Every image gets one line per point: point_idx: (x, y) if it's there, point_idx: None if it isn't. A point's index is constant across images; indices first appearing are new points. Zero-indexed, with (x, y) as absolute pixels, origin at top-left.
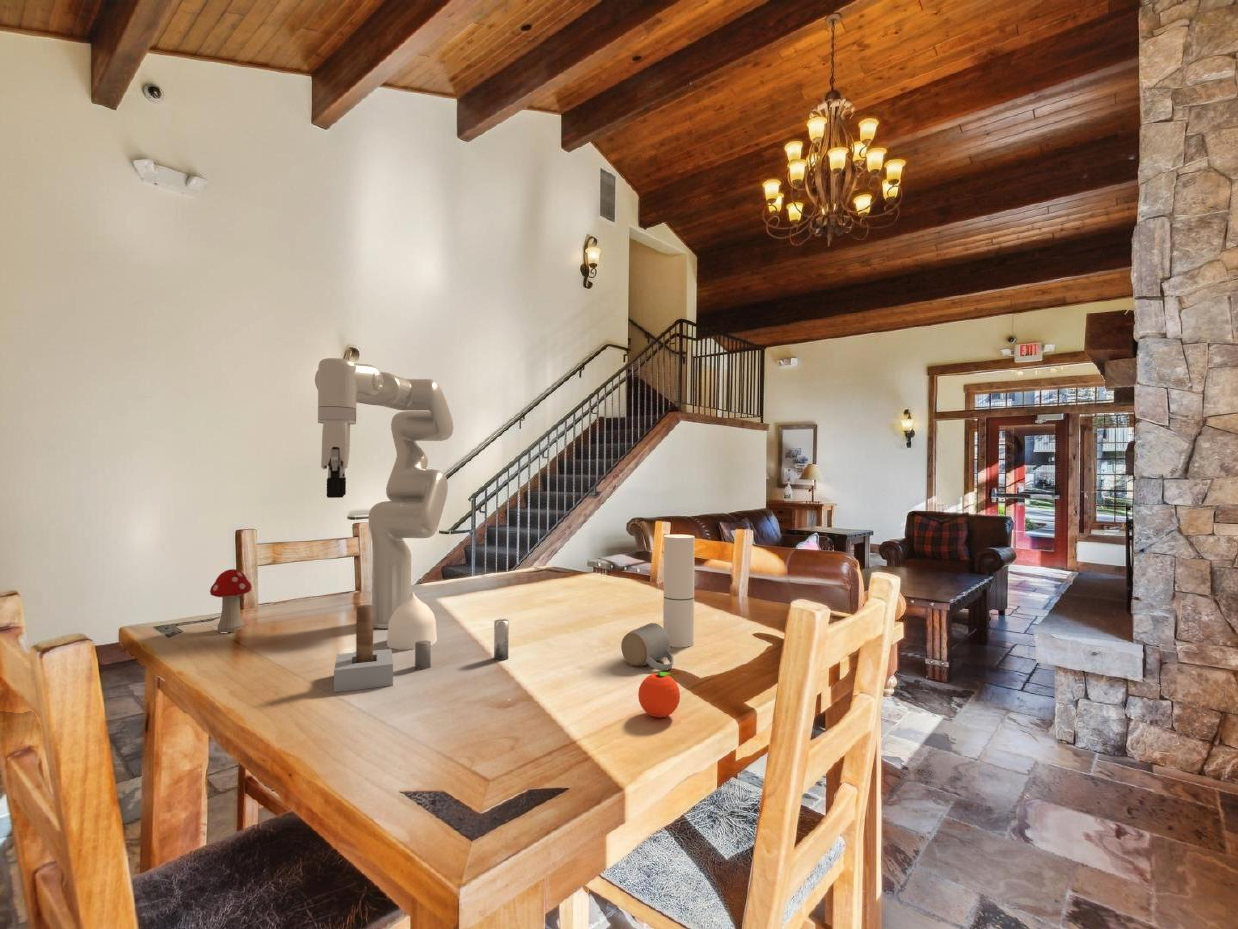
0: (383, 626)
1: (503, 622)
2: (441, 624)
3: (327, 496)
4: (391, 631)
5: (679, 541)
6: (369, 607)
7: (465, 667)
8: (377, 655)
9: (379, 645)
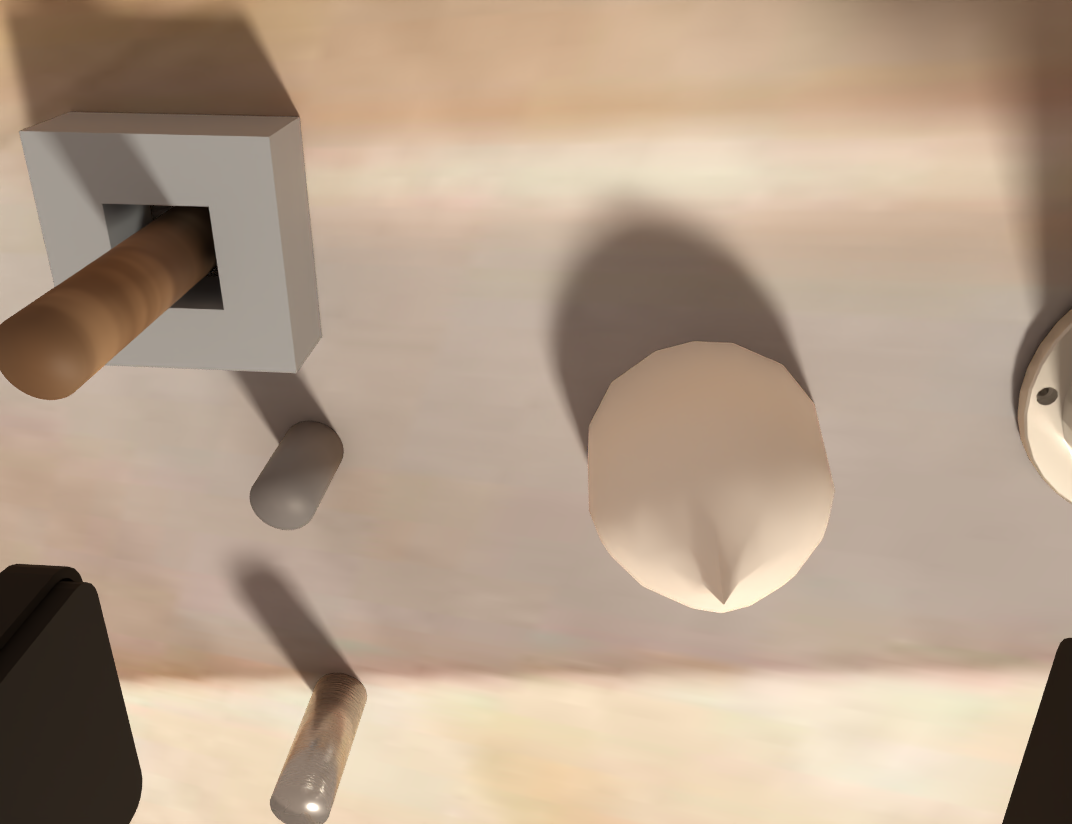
0: (1044, 349)
1: (271, 807)
2: (973, 598)
3: (13, 577)
4: (657, 391)
5: None
6: (14, 379)
7: (269, 577)
8: (206, 312)
9: (717, 308)
